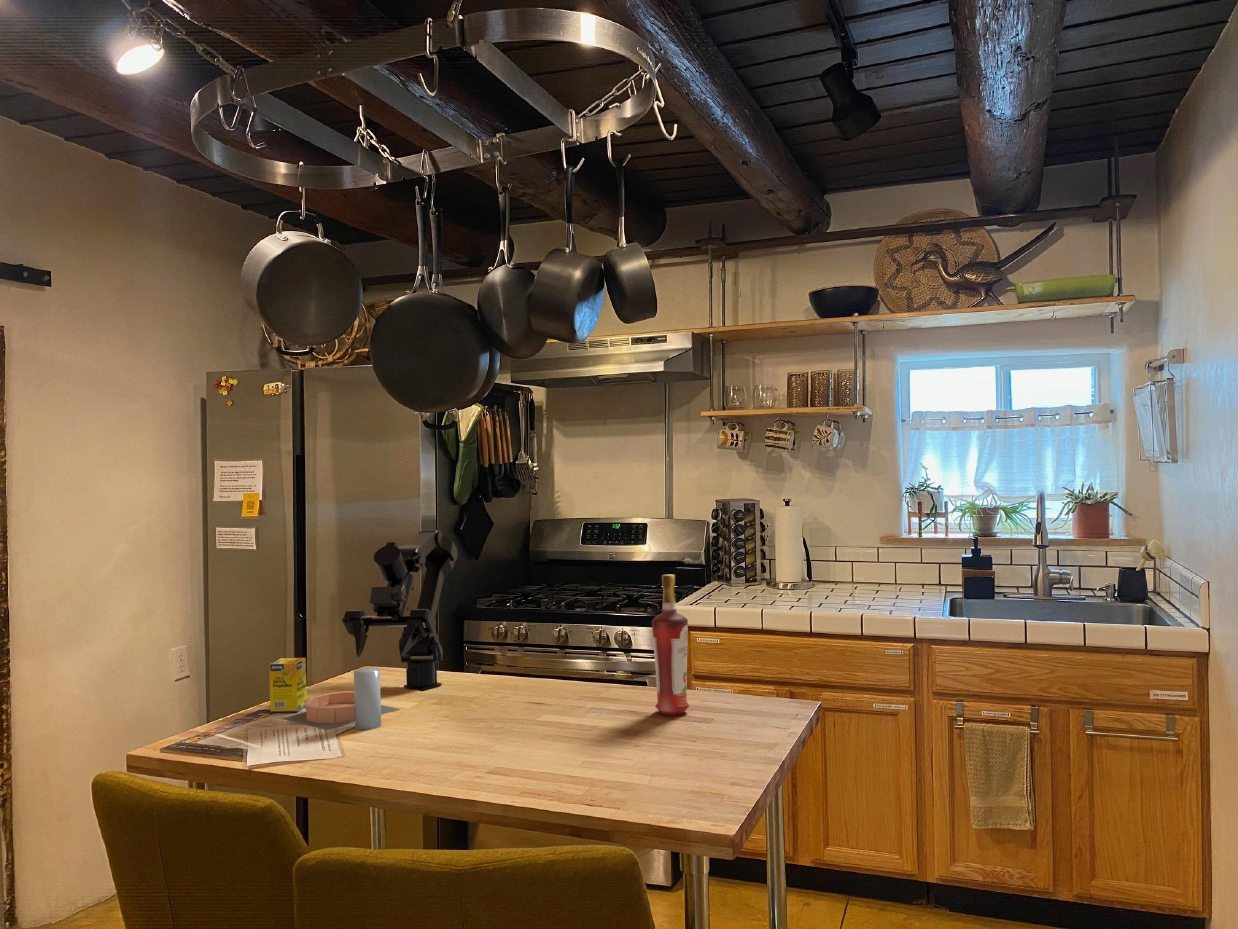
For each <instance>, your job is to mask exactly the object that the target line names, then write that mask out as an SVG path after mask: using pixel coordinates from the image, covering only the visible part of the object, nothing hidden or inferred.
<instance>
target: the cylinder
mask: <svg viewBox="0 0 1238 929" xmlns="http://www.w3.org/2000/svg"><path fill="white" fill-rule="evenodd" d="M380 670H381V669H380V668H378V667H363V668H356V669H355V670H353V691H354V703H355V722H354V728H355V729H356V730H359V731H368V730H375V729H378V728H381V727H382V715H381V705H382V703H381V702H382V700H381V671H380Z"/></svg>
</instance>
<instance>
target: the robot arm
mask: <svg viewBox="0 0 1238 929" xmlns="http://www.w3.org/2000/svg"><path fill="white" fill-rule="evenodd" d="M457 560H458V549H457V546H456V544H455V542H454V541H453V539H450V538H449V537H447V536H445V535H444V534H443V533H442V531H441V530H439V529H422V530H420V531H419V533H418V535H417V536H416V537H414V538H413V539H412V540H411V541H410V542H408V544H406V545H402V546H398V544H397V542H396V541H390V542H389V541H388V542H386V545H384V546H382V547H381V548H378V550H377V551H376V552H375V553H374V554H373V561H374V563H375V566H376V567H377V570H378V572H379V574H380V577H381V580H384V581H386V582H385V586H371V588H370V594H369V603H370V604H372V605H373V607H372V611H373V612H374V613H376V615H366V613H365V610H364V609H347V610H346V611H344V612H343V615H342V617H341V621H342V623H343V625H344V627H345V629H346V631H347V633H348V634H349V635H351V636H353V637H354V641H355V653H356V656H357V658H360V657H361V655H362V654H363V652H364V649H365V646H366V643H367V641H368V640H367V639H368V632H369V630H370V627H379V626H380V627H382V626H383V627H388V628H390V627H391V628H392V627H394V628H396V627H397V628H398V627H403V629H402V630H403V631H402V633H401V636H400V638H399V639H398V640H399V641H398V648H399V656H400V660H401V664H403V663H404V664H405V663H407V664H406V666H407V668H406V670H405V672H406V673H405V674H406V677H405V678H406V684H404V685H403V688H405V689H410V690H415V691H420V692H421V691H426V690H429V689H433V688H437V687H440V686H442V684H443V683H442V682H438V673H437V672H438V671H437V669H438V668H437V667H438V664H437V663H438V662H442V661H443V654H444V653H443V648H442V645H441V643H440V640H439V638H438V634H437V632H436V629H435V627H436V621H435V620H436V616H437V610H438V605H439V601H440V597H441V593H442V589H443V584H444V578H445V577H446V576H447V575H448V574H449V573H451V571H453V569H454V566H455V562H456V561H457ZM423 568H425V573H424V577H423V582H422V585H421V589H420V593H419V597H418V601H417V605H416V608H413V609H410V605H409V601H410V597H411V593H412V591H414V590H415V585H414V582H415V579H414V576H413V574H419V573H421V571H422V570H423ZM409 610H410V612H409V616H408V615H406V612H407V611H409Z"/></svg>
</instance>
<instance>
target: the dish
mask: <svg viewBox="0 0 1238 929" xmlns="http://www.w3.org/2000/svg"><path fill="white" fill-rule="evenodd" d="M304 709H305V712H306V719H307V720H308V721H312V722H316V723H339V722H347V721H354V720H355V703H354V690H345V691H338V692H337V691H336V692H329V693H325V694H320V695H317V696H316V695H315V696H313V697H311V698H309V699H307V701H305V708H304Z"/></svg>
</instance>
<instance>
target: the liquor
mask: <svg viewBox="0 0 1238 929" xmlns="http://www.w3.org/2000/svg"><path fill="white" fill-rule="evenodd" d="M661 584H662V590H663V593H662V610H661V611H662V612H661V613H660V614H658V615H656V616H655V617H654V618H652V620H651V628H652V629H651V630H652V640H653V641H652V642H653V644H652V645H653V654H654V664H655V680H656V681H655V682H656V693H657V694H656V695H657V697H656V698H657V699H656V700H657V702H656V703H655V706H654V707H655V708H656V709H657V711H659V712H660V714H662V715H663V716H664V715H665V716H668V717H670V716H671V717H672V716H673V717H674V716H681V715H682V714H684V713H685V712H686V711H687V710H688V709H689V708H690V704H689V703H688V697H687V696H688V692H687V690H688V688H687V684H688V682H687V681H688V680H687V679H688V676H687V675H688V670H687V669H688V642H689V641H688V640H689V639H688V635H689V634H688V633H689V632H688V627H689V623H688V618H686V617H685V616H684V615H682V614H680V613H678V611H677V603H676V594H675V587H676V574H662V575H661Z"/></svg>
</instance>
